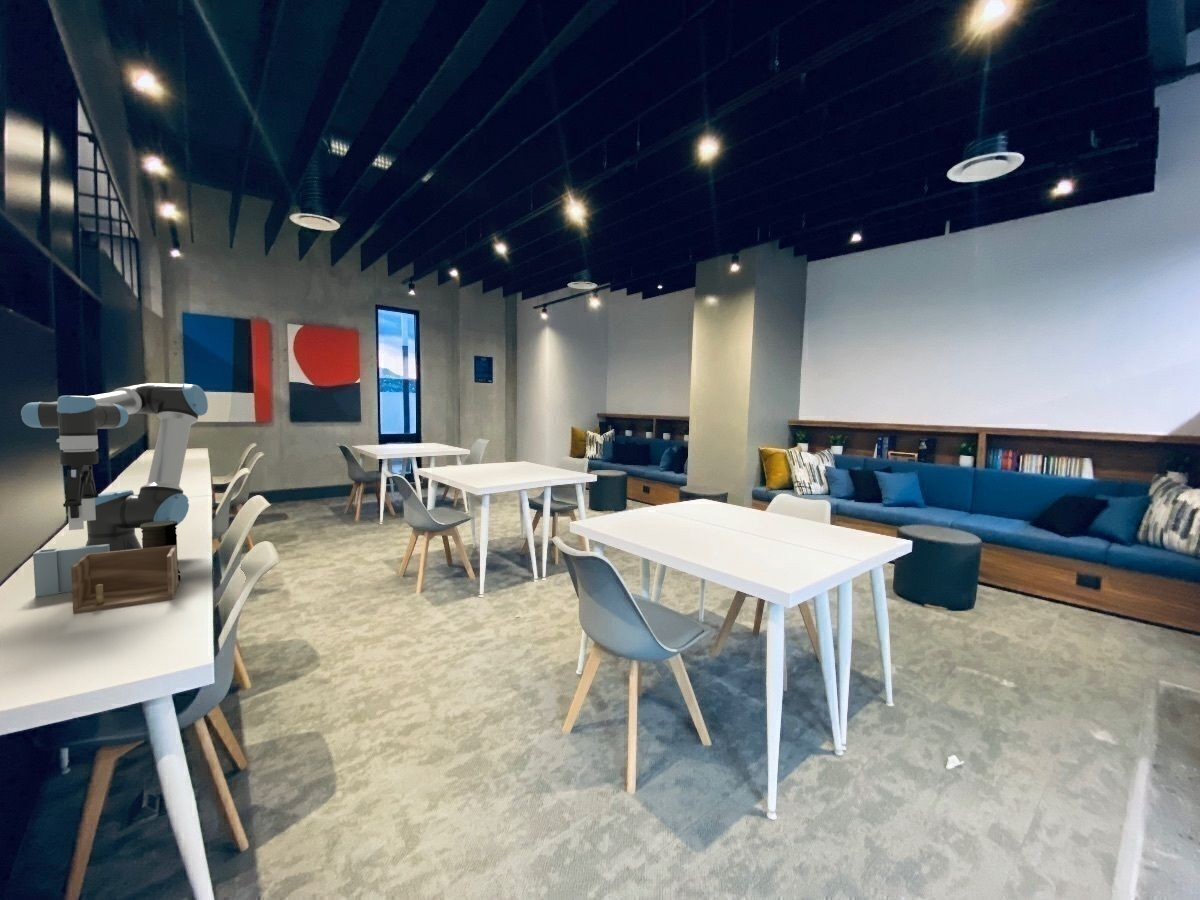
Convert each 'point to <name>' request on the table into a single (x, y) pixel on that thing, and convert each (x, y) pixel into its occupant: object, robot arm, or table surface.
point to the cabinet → (124, 578)
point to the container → (159, 535)
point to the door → (59, 567)
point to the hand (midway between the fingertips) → (83, 524)
